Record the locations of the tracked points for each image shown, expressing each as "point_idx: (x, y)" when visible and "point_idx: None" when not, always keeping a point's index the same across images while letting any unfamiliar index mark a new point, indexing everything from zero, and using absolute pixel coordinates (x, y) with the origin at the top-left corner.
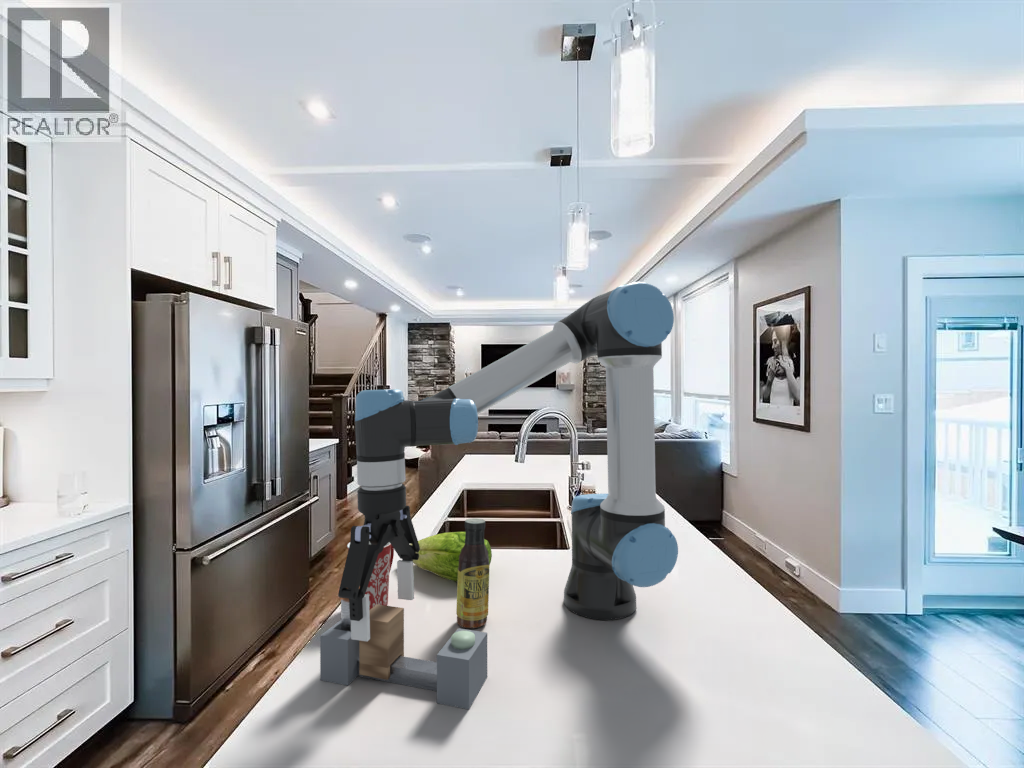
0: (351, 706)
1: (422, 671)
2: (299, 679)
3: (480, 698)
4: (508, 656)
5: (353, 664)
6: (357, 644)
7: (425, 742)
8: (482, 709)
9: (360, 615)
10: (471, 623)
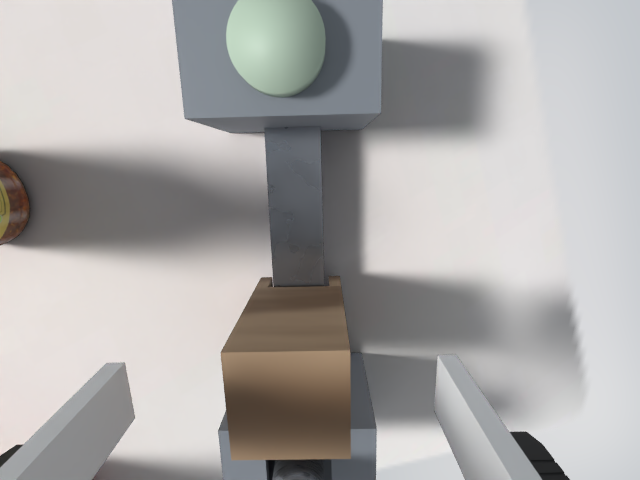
0: (420, 305)
1: (319, 194)
2: None
3: None
4: (107, 16)
5: None
6: None
7: (488, 92)
8: None
9: (524, 448)
10: (10, 184)
